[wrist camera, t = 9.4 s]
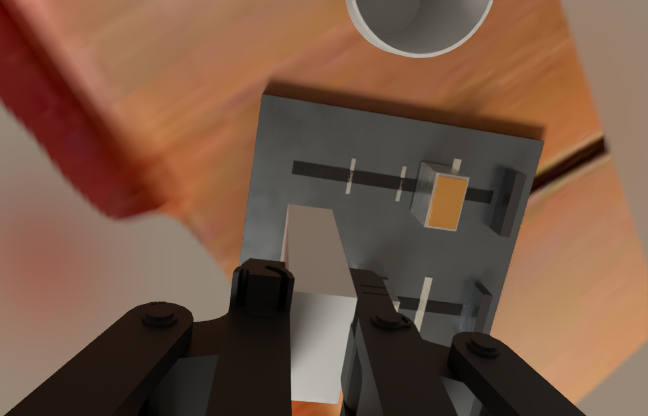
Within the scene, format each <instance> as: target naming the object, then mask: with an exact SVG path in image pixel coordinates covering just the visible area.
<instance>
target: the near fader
mask: <svg viewBox="0 0 648 416" xmlns="http://www.w3.org/2000/svg"><path fill="white" fill-rule="evenodd" d="M468 182H469V177H468V176H466V175H465V174H463V173H461V172H460V171H458V170H457V169H455V168H453V167H452V166H447V165H441V164H434V163H428V162H421V167H420V171H419V175H418V180H417V184H416V189H415V193H414V198H413V202H412V207H411V212H412V213H413V214H414V216H415V217H416V218H417V219H418V220H419V222H420V223H421V224H422V225H423V226H424V227H428V228H435V229H442V230H449V231H456V230H457V226H458V222H459V218H460V214H461V210H462V206H463V202H464V198H465V194H466V190H467V186H468Z"/></svg>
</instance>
